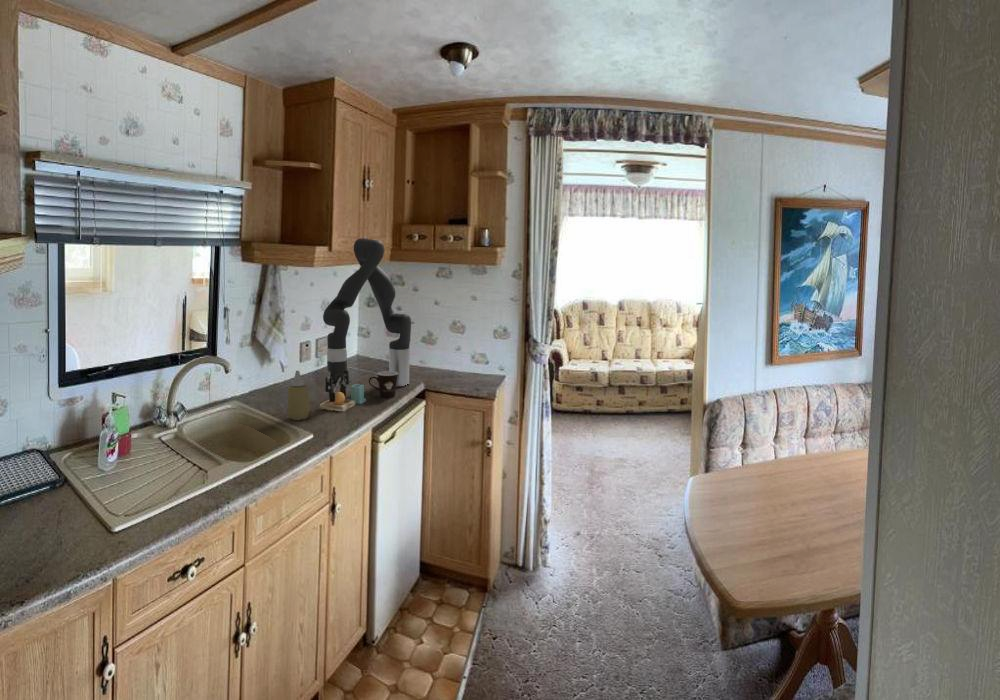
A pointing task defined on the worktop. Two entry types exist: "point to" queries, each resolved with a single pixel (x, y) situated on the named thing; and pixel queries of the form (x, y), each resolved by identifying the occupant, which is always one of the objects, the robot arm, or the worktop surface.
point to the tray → (342, 407)
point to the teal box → (357, 393)
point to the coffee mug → (386, 383)
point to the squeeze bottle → (298, 399)
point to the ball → (339, 398)
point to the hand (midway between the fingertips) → (337, 398)
